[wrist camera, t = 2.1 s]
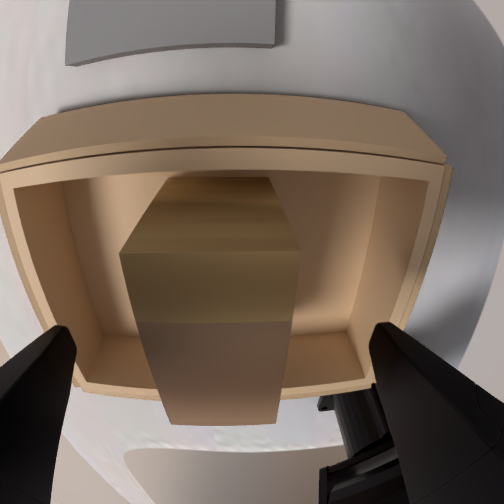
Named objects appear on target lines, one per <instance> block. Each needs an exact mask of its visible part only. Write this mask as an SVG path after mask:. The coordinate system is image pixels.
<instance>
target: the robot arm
mask: <svg viewBox="0 0 504 504" xmlns="http://www.w3.org/2000/svg"><path fill="white" fill-rule="evenodd" d="M368 347H369V353H370V358H371V362H372V366H373V371H374V375H375V380H376V383H372V384H371V388H368V389H363V390H357V391H351V392H345V393H338V394H331V395H323V396H320V399H319V401H318V404H317V407H318V410H319V411H329V410H335V414H336V417H337V421H338V424H339V428H340V431H341V435H342V439H343V442H344V446H345V450H346V453H347V457H348V459H347V460H345V461H342V462H340V463H337V464H335V465H332V466H326V467H324V468H321V469H320V472H319V477H320V478H319V504H504V403H503V402H501V401H500V400H498V399H497V398H495V397H494V396H492V395H491V394H490V393H488V392H487V391H485V390H484V389H483V388H481V387H480V386H479V385H477V384H475V383H474V382H473V381H472V380H470V379H469V378H468V377H466V376H465V375H464V374H462V373H461V372H460V371H458V370H457V369H455V368H454V367H453V366H451V365H450V364H449V363H447V362H446V361H444V360H443V359H442V358H440V357H439V356H438V355H436V354H435V353H433V352H432V351H431V350H429V349H428V348H426V347H425V346H424V345H422V344H421V343H419V342H418V341H417V340H415V339H414V338H412V337H411V336H410V335H408V334H407V333H405V332H404V331H403V330H401V329H400V328H398V327H397V326H395V325H394V324H393V323H391V322H388V321H387V322H379V323H377V324H376V325H375V327H374V330H373V333H372V335H371V338H370V341H369V346H368ZM76 355H77V347H76V344H75V341H74V339H73V337H72V335H71V333H70V330H69V328H68V327H67V326H63V325H54V326H53V327H51V328H50V329H49V330H47V331H46V332H45V333H43V334H42V335H41V336H39V337H38V338H37V339H36V340H34V341H33V342H32V343H30V344H29V345H28V346H26V347H25V348H24V349H23V350H21V351H20V352H19V353H17V354H16V355H15V356H14V357H12V358H11V359H10V360H9V361H7V362H6V363H5V364H4V365H3V366H1V367H0V504H50V501H51V492H52V484H53V483H52V482H53V476H54V469H55V463H56V457H57V451H58V445H59V440H60V435H61V430H62V426H63V421H64V417H65V412H66V408H67V404H68V400H69V395H70V390H71V383H72V377H73V371H74V366H75V360H76Z"/></svg>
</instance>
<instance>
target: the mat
mask: <svg viewBox="0 0 504 504" xmlns="http://www.w3.org/2000/svg"><path fill="white" fill-rule="evenodd" d="M275 7H276V0H70V2H69V11H68V21H67V34H66V55H65V66H76V67H77V66H81V65H85V64H89V63H93V62H98V61H102V60H107V59H112V58H118V57H123V56H129V55H135V54H142V53H150V52H158V51H167V50H178V49H191V48H213V47H251V48H272V47H273V46H274V44H275Z"/></svg>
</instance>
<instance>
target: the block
mask: <svg viewBox="0 0 504 504" xmlns="http://www.w3.org/2000/svg"><path fill="white" fill-rule="evenodd" d="M119 257H120V262H121V266H122V271H123V275H124V279H125V284H126V288H127V292H128V296H129V300H130V304H131V307H132V311H133V315H134V318H135V322H136V325H137V329H138V332H139V336H140V339H141V342H142V346H143V349H144V352H145V355H146V358H147V361H148V364H149V367H150V370H151V373H152V376H153V379H154V382H155V384H156V387H157V390H158V393H159V395H160V398H161V401H162V403H163V406H164V408H165V411H166V413H167V416H168V418H169V421H170V423H171V424H173V425H196V426H236V425H260V424H275V423H276V418H277V413H278V407H279V402H280V396H281V390H282V385H283V379H284V373H285V367H286V360H287V354H288V348H289V341H290V334H291V327H292V320H293V313H294V306H295V299H296V291H297V283H298V275H299V267H300V259H301V249H300V246H299V244H298V242H297V240H296V237H295V235H294V233H293V230H292V228H291V226H290V224H289V221H288V219H287V217H286V215H285V212H284V210H283V208H282V206H281V203H280V201H279V199H278V197H277V195H276V192H275V190H274V188H273V186H272V184H271V182H270V179H269V177H199V178H172V179H167V180H166V181H165V183H164V184H163V186H162V187H161V188H160V190H159V191H158V193H157V194H156V196H155V197H154V199H153V200H152V202H151V203H150V205H149V206H148V208H147V209H146V211H145V212H144V214H143V215H142V217H141V218H140V220H139V222H138V223H137V225H136V226H135V228H134V229H133V231H132V233H131V234H130V236H129V237H128V239H127V241H126V242H125V244H124V246H123V247H122V249H121V251H120V252H119Z"/></svg>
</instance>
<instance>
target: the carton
mask: <svg viewBox="0 0 504 504" xmlns="http://www.w3.org/2000/svg"><path fill="white" fill-rule="evenodd" d="M446 160H447V156H446V154H445V153H444V152H443V151H442V150H441V149H440V148H439V147H438V146H437V145H436V144H435V142H434V141H433V140H432V139H431V138H430V137H429V136H428V135H427V134H426V133H425V132H424V131H423V130H422V129H421V128H420V127H419V126H418V125H417V124H416V123H415V122H414V121H413V120H412V119H411V118H410V117H409V116H408V115H407V114H405V113H404V112H403V111H399V110H394V109H389V108H383V107H378V106H372V105H367V104H360V103H354V102H347V101H340V100H332V99H323V98H313V97H302V96H289V95H271V94H198V95H180V96H167V97H156V98H146V99H137V100H130V101H122V102H115V103H109V104H103V105H97V106H92V107H86V108H81V109H76V110H72V111H67V112H63V113H58V114H54V115H50V116H46V117H42V118H40V119H39V120H38V121H37V122H36V123H35V124H34V125H33V126H32V127H31V128H30V129H29V130H28V131H27V132H26V133H25V134H24V135H23V136H22V137H21V138H20V139H19V140H18V141H17V142H16V144H15V145H14V146H13V147H12V148H11V149H10V150H9V151H8V152H7V153H6V155H5V156H4V157H3V158H2V159H1V160H0V214H1V218H2V222H3V225H4V229H5V233H6V236H7V239H8V243H9V246H10V249H11V252H12V255H13V258H14V261H15V264H16V267H17V269H18V272H19V275H20V278H21V280H22V283H23V285H24V288H25V290H26V293H27V295H28V298H29V300H30V302H31V305H32V307H33V309H34V311H35V314H36V316H37V318H38V320H39V322H40V324H41V326H42V329H43V331H44V333H45V332H46V331H47V330H49V329H50V328H51V327H53V326H54V325H63V326H67V327H68V328H69V330H70V333H71V335H72V337H73V339H74V341H75V344H76V347H77V355H76V360H75V366H74V371H73V377H72V383H73V385H74V386H75V387H81V388H82V390H83V392H86V393H92V394H99V395H106V396H114V397H122V398H132V399H143V400H156V401H161V398H160V395H159V393H158V390H157V387H156V384H155V382H154V379H153V376H152V373H151V370H150V367H149V364H148V361H147V358H146V355H145V352H144V349H143V346H142V342H141V339H140V336H139V332H138V329H137V325H136V322H135V318H134V315H133V311H132V307H131V304H130V300H129V296H128V292H127V288H126V284H125V279H124V275H123V271H122V266H121V262H120V257H119V252H120V251H121V249H122V247H123V246H124V244H125V242H126V241H127V239H128V237H129V236H130V234H131V233H132V231H133V229H134V228H135V226H136V225H137V223H138V222H139V220H140V218H141V217H142V215H143V214H144V212H145V211H146V209H147V208H148V206H149V205H150V203H151V202H152V200H153V199H154V197H155V196H156V194H157V193H158V191H159V190H160V188H161V187H162V186H163V184H164V183H165V181H166V180H167V179H172V178H199V177H269V179H270V182H271V184H272V186H273V188H274V190H275V192H276V195H277V197H278V199H279V201H280V203H281V206H282V208H283V210H284V212H285V215H286V217H287V219H288V221H289V224H290V226H291V228H292V230H293V233H294V235H295V237H296V240H297V242H298V244H299V246H300V249H301V259H300V267H299V275H298V283H297V291H296V299H295V306H294V313H293V320H292V327H291V334H290V341H289V348H288V354H287V360H286V367H285V373H284V379H283V385H282V390H281V396H280V400H286V399H297V398H307V397H315V396H323V395H331V394H338V393H345V392H351V391H357V390H363V389H368V388H371V384H372V383H376V380H375V375H374V371H373V366H372V362H371V358H370V353H369V347H368V346H369V341H370V338H371V335H372V333H373V330H374V327H375V325H376V324H377V323H379V322H387V321H388V322H391V323H393V324H394V325H395V326H397V327H398V328H400V329H401V330H404V328H405V326H406V323H407V321H408V318H409V316H410V314H411V311H412V309H413V306H414V303H415V301H416V298H417V296H418V293H419V290H420V287H421V285H422V282H423V279H424V276H425V273H426V270H427V267H428V264H429V261H430V258H431V255H432V251H433V248H434V245H435V241H436V238H437V234H438V231H439V227H440V223H441V220H442V216H443V212H444V208H445V203H446V199H447V195H448V190H449V185H450V180H451V175H452V170H453V168H452V167H451V166H449V165H448V164H446V163H445V162H446Z"/></svg>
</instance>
